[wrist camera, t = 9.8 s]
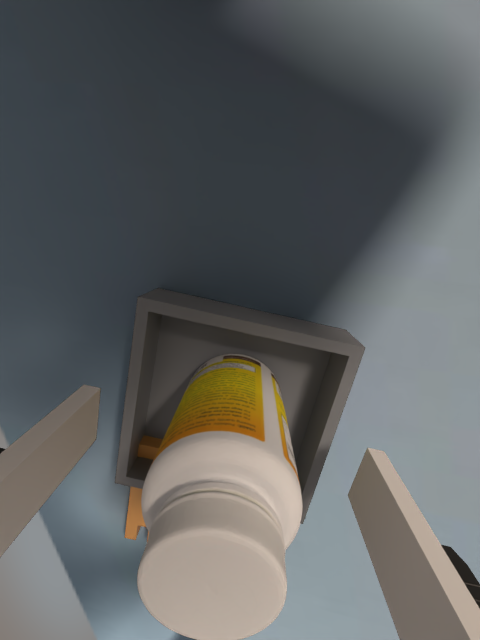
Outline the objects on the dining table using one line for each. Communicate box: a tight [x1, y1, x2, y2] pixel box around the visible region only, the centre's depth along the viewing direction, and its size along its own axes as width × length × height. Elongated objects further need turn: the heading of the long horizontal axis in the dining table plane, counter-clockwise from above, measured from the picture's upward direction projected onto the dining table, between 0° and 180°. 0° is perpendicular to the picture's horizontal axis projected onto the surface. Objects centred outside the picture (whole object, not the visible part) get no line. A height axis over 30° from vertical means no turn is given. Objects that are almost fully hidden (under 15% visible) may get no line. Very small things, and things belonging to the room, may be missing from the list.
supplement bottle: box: [137, 354, 303, 640], centre depth 12 cm, size 6×6×10 cm
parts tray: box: [115, 288, 365, 524], centre depth 16 cm, size 11×11×3 cm
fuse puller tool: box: [125, 435, 163, 541], centre depth 20 cm, size 8×2×2 cm, turn 168°
